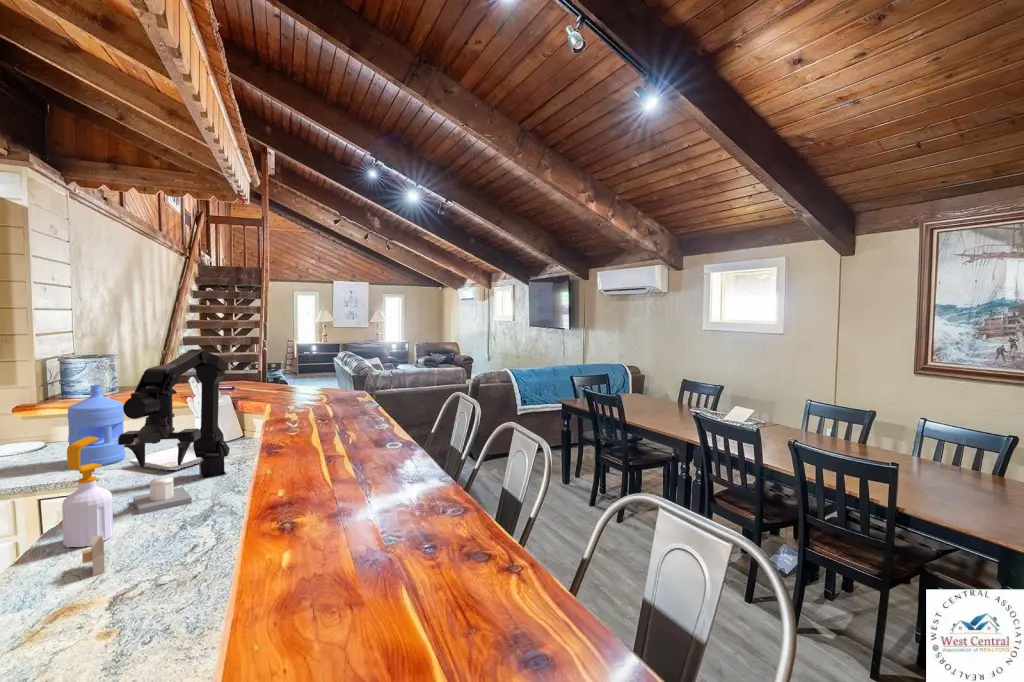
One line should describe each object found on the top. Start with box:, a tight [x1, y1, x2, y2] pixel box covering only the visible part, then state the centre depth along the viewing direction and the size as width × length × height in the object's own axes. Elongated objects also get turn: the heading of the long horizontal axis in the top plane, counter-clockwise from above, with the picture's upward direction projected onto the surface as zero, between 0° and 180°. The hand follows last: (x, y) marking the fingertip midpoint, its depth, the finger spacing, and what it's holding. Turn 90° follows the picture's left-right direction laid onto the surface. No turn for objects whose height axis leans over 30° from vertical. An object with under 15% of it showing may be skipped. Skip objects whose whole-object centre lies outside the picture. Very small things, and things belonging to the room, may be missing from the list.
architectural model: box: [81, 531, 106, 577], centre depth 104 cm, size 3×7×7 cm, turn 41°
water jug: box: [67, 384, 126, 467], centre depth 178 cm, size 16×16×28 cm
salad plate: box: [128, 445, 201, 471], centre depth 179 cm, size 21×21×3 cm
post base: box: [132, 486, 192, 515], centre depth 141 cm, size 12×12×6 cm
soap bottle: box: [61, 436, 114, 548], centre depth 116 cm, size 9×9×25 cm
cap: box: [149, 476, 175, 501], centre depth 141 cm, size 5×5×5 cm
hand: (161, 466), depth 140 cm, fingers open, 9 cm apart
